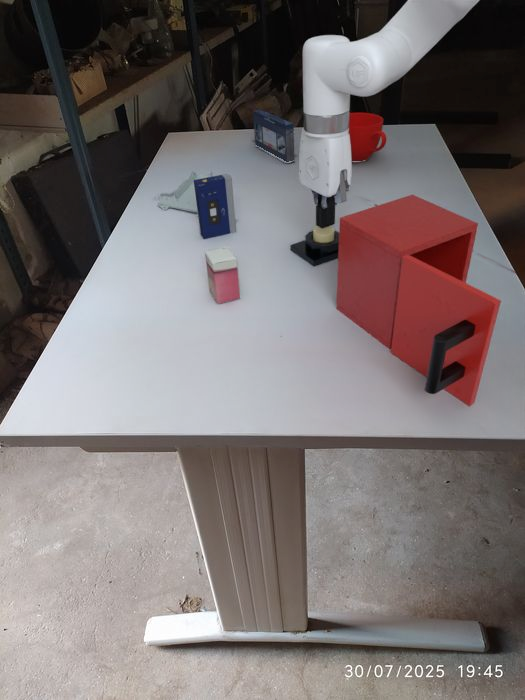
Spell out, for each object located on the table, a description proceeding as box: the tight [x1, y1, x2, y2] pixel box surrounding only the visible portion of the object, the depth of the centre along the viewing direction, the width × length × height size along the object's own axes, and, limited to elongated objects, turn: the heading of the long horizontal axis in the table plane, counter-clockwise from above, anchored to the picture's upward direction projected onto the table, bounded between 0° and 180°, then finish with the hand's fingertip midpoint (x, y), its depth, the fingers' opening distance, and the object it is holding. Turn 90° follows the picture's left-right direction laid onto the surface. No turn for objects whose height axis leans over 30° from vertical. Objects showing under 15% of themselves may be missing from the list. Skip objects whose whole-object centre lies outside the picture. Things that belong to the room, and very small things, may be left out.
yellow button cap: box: [312, 226, 335, 243], centre depth 102 cm, size 4×4×2 cm
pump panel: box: [290, 229, 339, 267], centre depth 103 cm, size 10×8×3 cm
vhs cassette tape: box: [252, 109, 296, 162], centre depth 147 cm, size 18×3×10 cm, turn 27°
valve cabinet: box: [335, 194, 479, 350], centre depth 81 cm, size 13×14×16 cm
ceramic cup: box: [348, 112, 387, 161], centre depth 139 cm, size 13×17×10 cm
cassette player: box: [194, 173, 237, 240], centre depth 109 cm, size 7×2×12 cm, turn 112°
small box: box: [204, 245, 241, 305], centre depth 91 cm, size 5×4×8 cm
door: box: [390, 254, 502, 407], centre depth 68 cm, size 7×14×16 cm, turn 34°
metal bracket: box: [157, 170, 214, 218], centre depth 125 cm, size 14×6×15 cm
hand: (325, 224), depth 100 cm, fingers closed
